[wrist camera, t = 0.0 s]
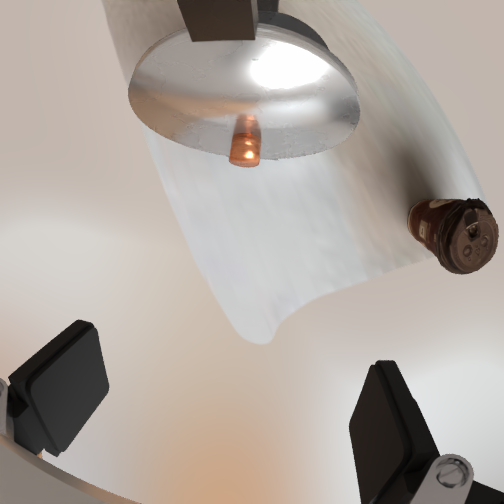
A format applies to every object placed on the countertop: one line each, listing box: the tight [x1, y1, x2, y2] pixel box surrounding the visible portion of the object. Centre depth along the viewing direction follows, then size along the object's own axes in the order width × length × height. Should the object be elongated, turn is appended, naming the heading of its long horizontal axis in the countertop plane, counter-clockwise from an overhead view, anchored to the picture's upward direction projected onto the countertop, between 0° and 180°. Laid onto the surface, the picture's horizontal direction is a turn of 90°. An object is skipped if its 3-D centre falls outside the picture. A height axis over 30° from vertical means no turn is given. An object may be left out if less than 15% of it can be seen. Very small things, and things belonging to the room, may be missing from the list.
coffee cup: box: [408, 198, 499, 274], centre depth 30 cm, size 9×8×13 cm
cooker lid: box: [128, 0, 360, 167], centre depth 16 cm, size 22×16×3 cm
